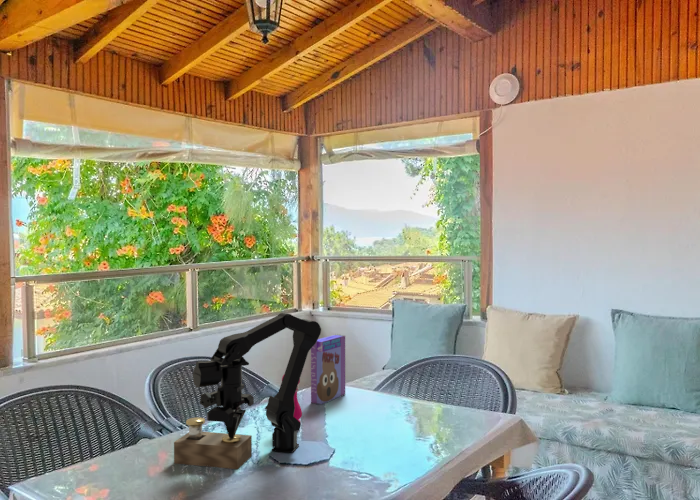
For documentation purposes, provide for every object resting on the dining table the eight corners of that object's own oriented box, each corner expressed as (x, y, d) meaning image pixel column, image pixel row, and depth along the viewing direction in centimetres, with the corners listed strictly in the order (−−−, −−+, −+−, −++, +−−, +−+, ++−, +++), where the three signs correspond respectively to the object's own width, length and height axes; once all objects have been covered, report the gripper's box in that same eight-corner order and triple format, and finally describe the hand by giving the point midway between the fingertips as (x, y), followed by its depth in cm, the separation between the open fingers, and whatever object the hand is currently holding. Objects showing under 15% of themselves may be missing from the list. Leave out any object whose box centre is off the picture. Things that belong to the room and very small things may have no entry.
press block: (251, 456, 172) (251, 435, 172) (237, 469, 162) (237, 447, 162) (191, 450, 176) (191, 430, 176) (174, 463, 166) (173, 441, 166)
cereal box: (321, 404, 225) (321, 341, 225) (311, 403, 228) (311, 340, 227) (345, 394, 240) (345, 335, 240) (335, 392, 243) (335, 334, 242)
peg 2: (243, 457, 170) (243, 435, 170) (236, 464, 165) (236, 441, 165) (226, 455, 171) (226, 433, 171) (218, 462, 166) (218, 439, 166)
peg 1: (208, 440, 172) (208, 418, 172) (199, 446, 167) (199, 423, 167) (191, 438, 173) (191, 416, 173) (182, 444, 168) (182, 422, 168)
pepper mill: (298, 431, 194) (298, 370, 194) (277, 429, 196) (277, 369, 195) (304, 424, 201) (304, 365, 201) (284, 423, 203) (283, 364, 202)
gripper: (219, 373, 178) (219, 425, 179) (189, 388, 160) (189, 446, 161) (254, 375, 176) (254, 428, 176) (227, 391, 158) (227, 449, 158)
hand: (231, 437), depth 168 cm, fingers closed, pressing on peg 2
